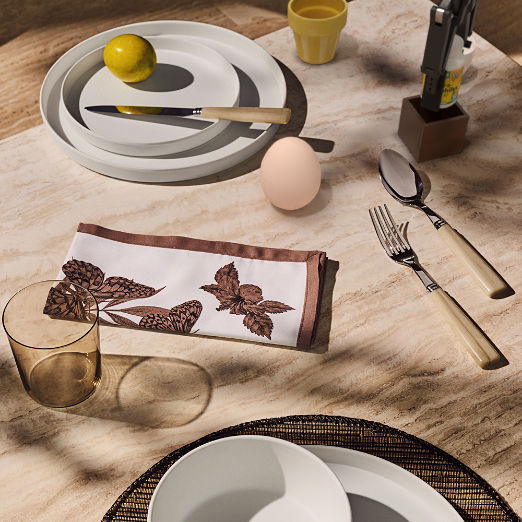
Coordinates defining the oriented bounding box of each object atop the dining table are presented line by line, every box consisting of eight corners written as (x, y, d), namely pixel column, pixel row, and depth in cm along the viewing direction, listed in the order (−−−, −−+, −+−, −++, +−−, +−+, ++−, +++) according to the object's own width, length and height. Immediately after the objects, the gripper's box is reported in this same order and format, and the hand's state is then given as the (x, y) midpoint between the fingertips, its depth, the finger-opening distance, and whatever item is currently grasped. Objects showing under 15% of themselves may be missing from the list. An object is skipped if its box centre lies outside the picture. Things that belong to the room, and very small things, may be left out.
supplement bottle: (452, 86, 103) (464, 29, 96) (460, 108, 99) (474, 50, 92) (416, 88, 103) (426, 31, 96) (423, 110, 99) (434, 52, 92)
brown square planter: (438, 124, 111) (446, 88, 105) (460, 152, 106) (470, 116, 101) (397, 134, 109) (402, 97, 104) (417, 163, 105) (424, 126, 99)
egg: (294, 233, 96) (295, 172, 87) (248, 205, 100) (245, 145, 91) (331, 199, 100) (336, 138, 91) (286, 174, 104) (286, 113, 95)
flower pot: (304, 33, 129) (305, -16, 122) (353, 47, 126) (357, -3, 118) (277, 61, 124) (277, 11, 116) (328, 76, 120) (331, 26, 113)
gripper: (469, -95, 90) (439, 59, 107) (410, -37, 80) (387, 122, 97) (525, -84, 87) (484, 73, 105) (471, -22, 77) (436, 139, 95)
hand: (438, 96), depth 101 cm, fingers closed on supplement bottle, 5 cm apart
